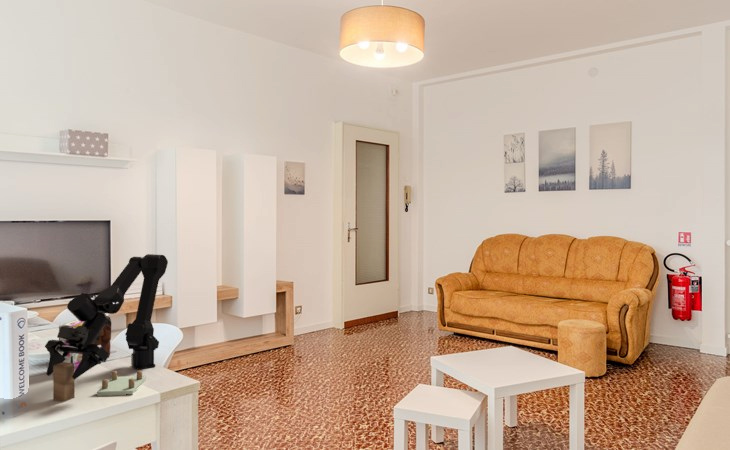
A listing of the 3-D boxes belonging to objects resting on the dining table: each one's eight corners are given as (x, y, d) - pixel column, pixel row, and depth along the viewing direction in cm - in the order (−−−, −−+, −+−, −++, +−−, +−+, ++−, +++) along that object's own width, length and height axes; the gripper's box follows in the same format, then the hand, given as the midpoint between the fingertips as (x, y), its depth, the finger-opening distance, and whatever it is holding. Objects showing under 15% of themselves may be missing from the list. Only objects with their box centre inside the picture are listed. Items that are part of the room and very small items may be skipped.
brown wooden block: (63, 396, 156) (63, 362, 155) (74, 397, 154) (74, 363, 154) (53, 400, 152) (53, 365, 152) (64, 401, 151) (64, 366, 151)
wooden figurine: (73, 361, 190) (73, 311, 190) (77, 356, 196) (77, 307, 196) (110, 358, 194) (110, 309, 193) (112, 354, 200) (112, 306, 199)
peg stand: (113, 380, 170) (113, 368, 170) (146, 379, 171) (146, 368, 171) (96, 395, 156) (97, 383, 156) (132, 394, 157) (132, 382, 157)
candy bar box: (72, 375, 174) (72, 325, 174) (57, 375, 174) (57, 325, 174) (91, 365, 185) (91, 318, 185) (77, 365, 186) (77, 318, 185)
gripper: (50, 312, 159) (16, 359, 149) (101, 317, 154) (70, 365, 144) (71, 333, 167) (41, 378, 157) (120, 338, 162) (93, 385, 152)
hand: (60, 376), depth 152 cm, fingers open, 9 cm apart
